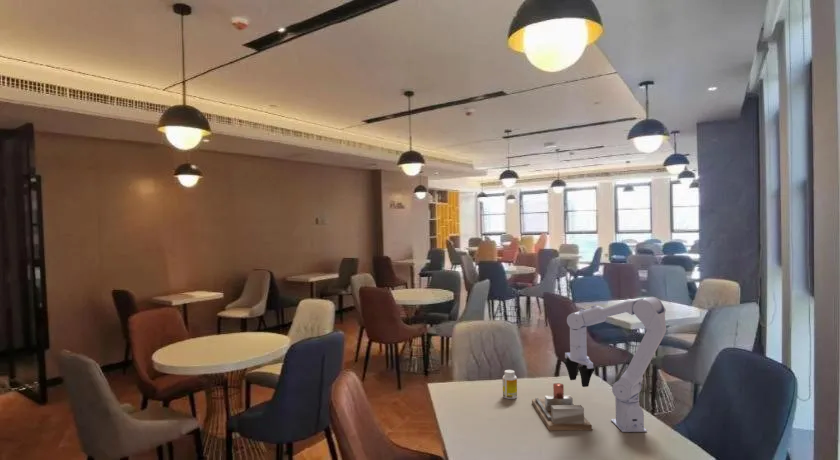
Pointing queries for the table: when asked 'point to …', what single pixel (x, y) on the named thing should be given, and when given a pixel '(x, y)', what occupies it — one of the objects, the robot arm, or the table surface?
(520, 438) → the table surface
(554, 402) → the sliding jaw
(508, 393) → the supplement bottle
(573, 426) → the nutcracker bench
